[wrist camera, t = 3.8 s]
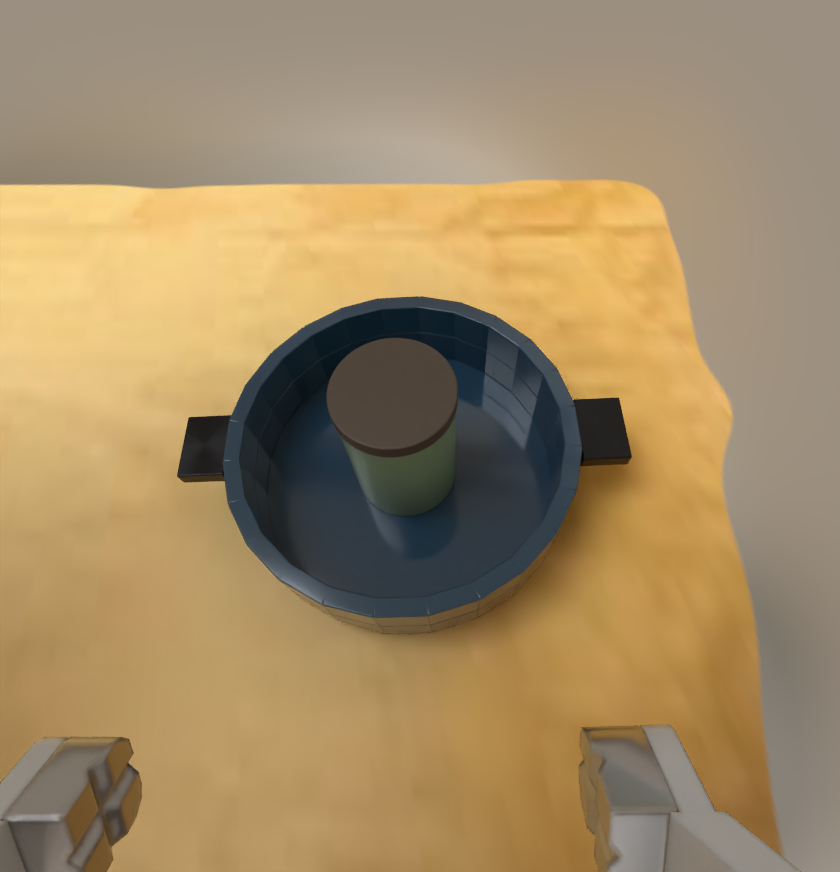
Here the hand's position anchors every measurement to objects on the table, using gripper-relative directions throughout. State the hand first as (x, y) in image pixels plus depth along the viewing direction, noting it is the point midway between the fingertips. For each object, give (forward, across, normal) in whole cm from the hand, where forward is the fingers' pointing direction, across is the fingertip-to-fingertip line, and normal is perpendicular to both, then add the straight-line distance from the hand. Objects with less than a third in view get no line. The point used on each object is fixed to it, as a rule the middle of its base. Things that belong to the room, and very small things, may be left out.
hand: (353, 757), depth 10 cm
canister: (+20, 0, +2) cm, 20 cm away
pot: (+20, 0, +2) cm, 20 cm away
